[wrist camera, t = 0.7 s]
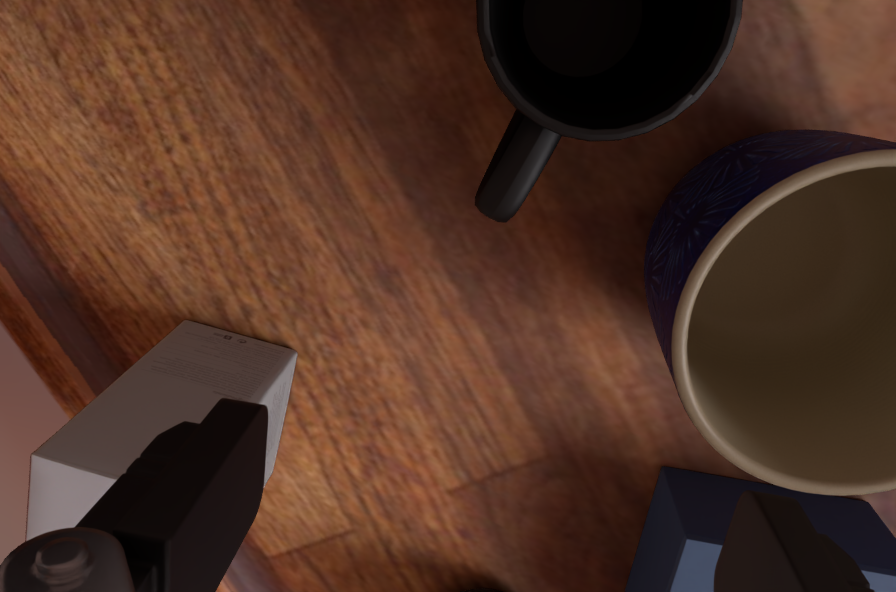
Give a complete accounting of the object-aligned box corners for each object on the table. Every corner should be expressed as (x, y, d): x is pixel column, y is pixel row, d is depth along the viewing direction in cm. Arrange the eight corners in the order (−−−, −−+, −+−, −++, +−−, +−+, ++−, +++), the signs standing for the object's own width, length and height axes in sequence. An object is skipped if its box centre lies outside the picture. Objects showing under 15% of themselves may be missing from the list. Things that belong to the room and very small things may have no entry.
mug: (413, 128, 33) (376, 163, 25) (551, -132, 29) (567, -203, 20) (564, 216, 34) (581, 280, 25) (718, -25, 30) (804, -50, 21)
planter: (759, 411, 37) (854, 556, 27) (571, 267, 35) (595, 364, 25) (960, 225, 33) (1161, 311, 23) (759, 53, 31) (879, 62, 21)
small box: (184, 315, 38) (26, 450, 26) (300, 349, 38) (198, 498, 26) (165, 443, 41) (15, 619, 28) (274, 474, 41) (170, 662, 29)
